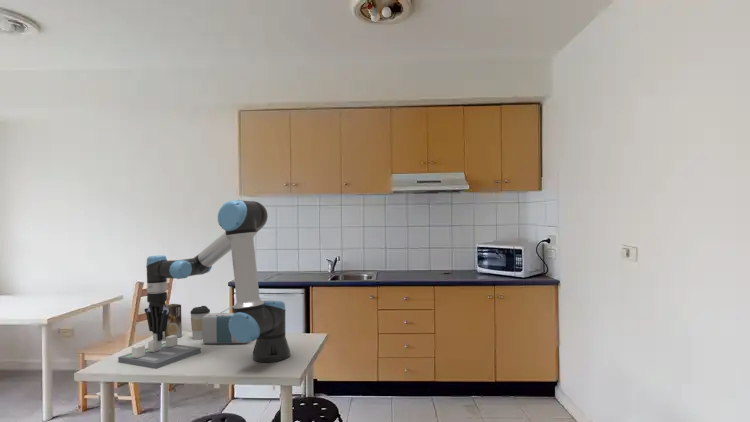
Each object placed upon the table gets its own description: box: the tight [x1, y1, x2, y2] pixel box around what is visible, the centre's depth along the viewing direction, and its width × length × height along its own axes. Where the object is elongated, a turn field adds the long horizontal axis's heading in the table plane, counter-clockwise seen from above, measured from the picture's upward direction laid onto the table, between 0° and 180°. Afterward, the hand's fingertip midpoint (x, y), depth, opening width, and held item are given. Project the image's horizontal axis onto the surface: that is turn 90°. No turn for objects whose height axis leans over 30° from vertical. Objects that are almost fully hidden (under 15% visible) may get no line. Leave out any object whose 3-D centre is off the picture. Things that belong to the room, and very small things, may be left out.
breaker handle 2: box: [165, 335, 179, 347], centre depth 189 cm, size 3×4×4 cm
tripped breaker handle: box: [147, 339, 161, 352], centre depth 182 cm, size 3×4×4 cm
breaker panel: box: [117, 342, 202, 370], centre depth 180 cm, size 22×22×2 cm
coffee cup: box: [189, 305, 211, 341], centre depth 210 cm, size 9×9×15 cm
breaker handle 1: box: [131, 344, 146, 358], centre depth 174 cm, size 3×4×4 cm
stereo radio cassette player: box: [202, 305, 246, 345], centre depth 201 cm, size 21×8×20 cm, turn 88°
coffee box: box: [162, 303, 183, 342], centre depth 210 cm, size 9×6×16 cm
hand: (158, 348), depth 181 cm, fingers closed
